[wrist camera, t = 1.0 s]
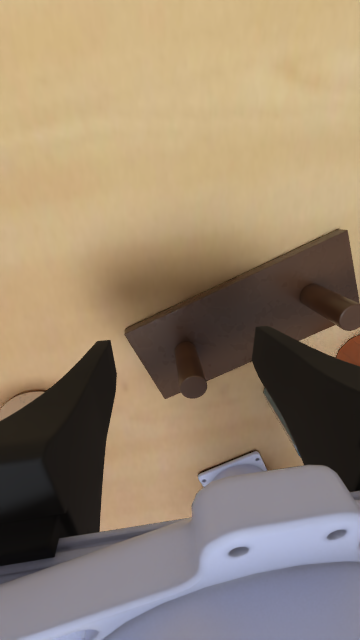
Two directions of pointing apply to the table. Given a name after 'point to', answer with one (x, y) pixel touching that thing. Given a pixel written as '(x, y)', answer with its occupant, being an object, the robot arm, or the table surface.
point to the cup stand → (249, 315)
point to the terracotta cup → (351, 351)
